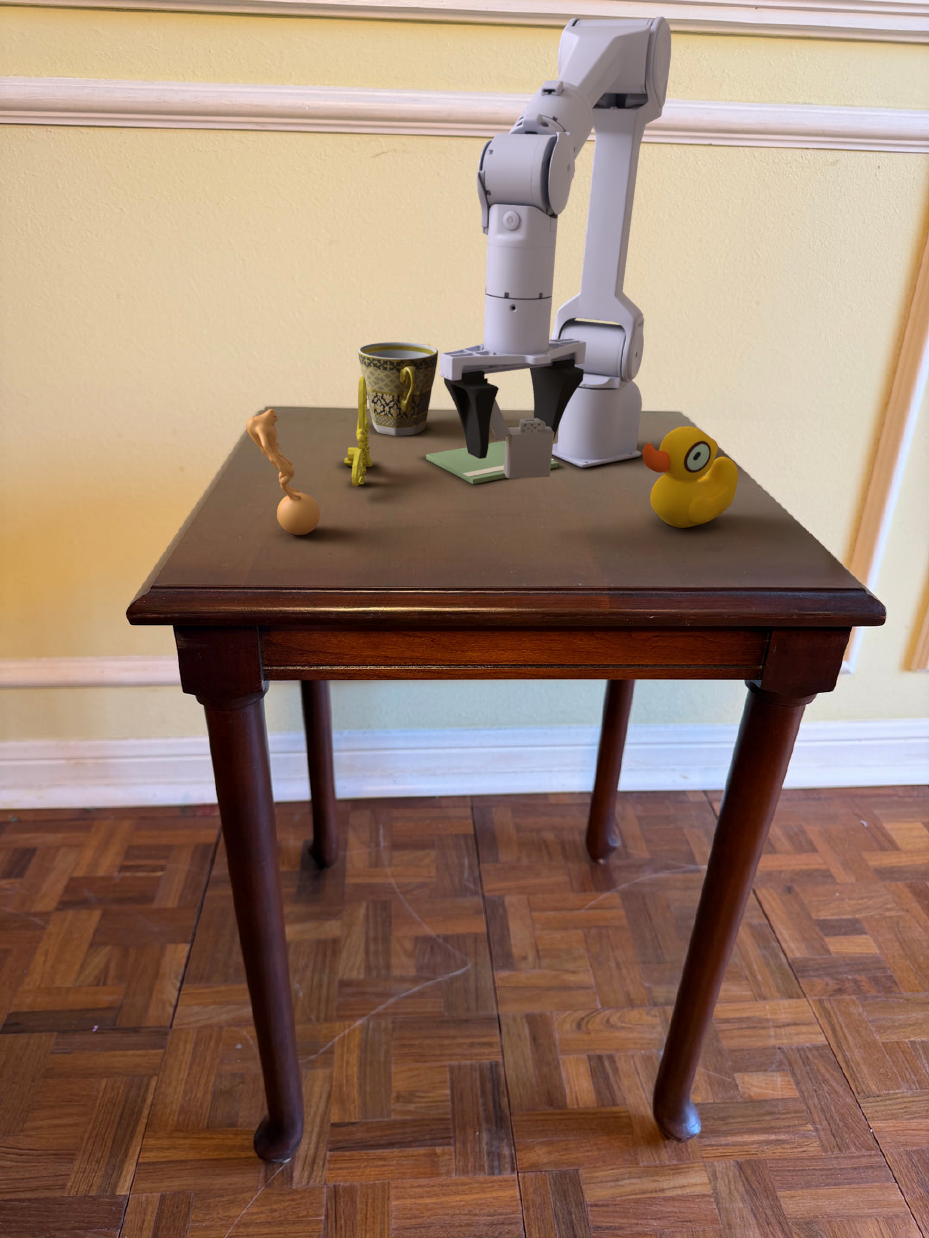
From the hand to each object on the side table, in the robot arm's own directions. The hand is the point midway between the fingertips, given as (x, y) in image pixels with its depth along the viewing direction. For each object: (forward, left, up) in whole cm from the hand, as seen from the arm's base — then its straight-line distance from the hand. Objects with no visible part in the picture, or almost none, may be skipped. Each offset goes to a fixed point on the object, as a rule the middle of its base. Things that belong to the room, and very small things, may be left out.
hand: (510, 449), depth 81 cm
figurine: (+18, -10, -9) cm, 22 cm away
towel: (-11, -18, -8) cm, 22 cm away
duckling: (-17, +7, -9) cm, 20 cm away
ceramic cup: (-8, -34, -9) cm, 36 cm away
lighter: (0, 0, -3) cm, 3 cm away
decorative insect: (+6, -20, -9) cm, 22 cm away
